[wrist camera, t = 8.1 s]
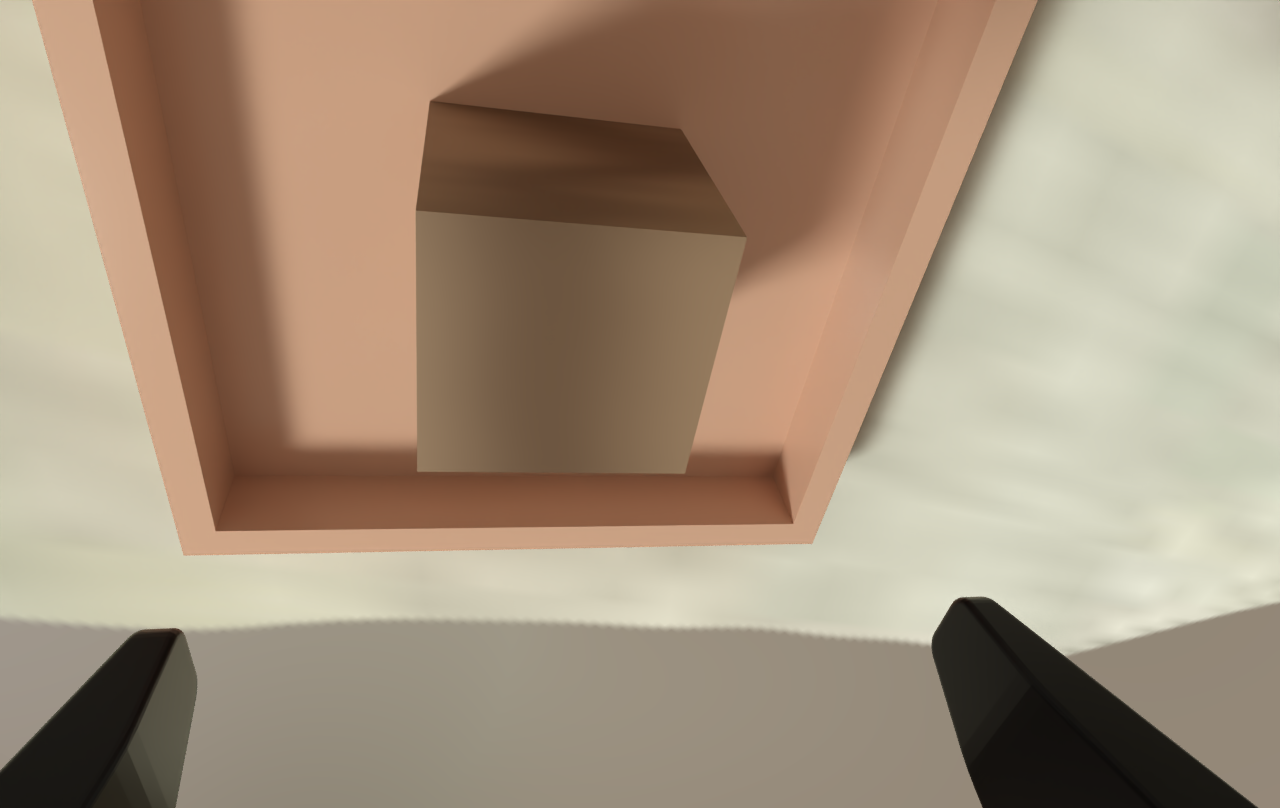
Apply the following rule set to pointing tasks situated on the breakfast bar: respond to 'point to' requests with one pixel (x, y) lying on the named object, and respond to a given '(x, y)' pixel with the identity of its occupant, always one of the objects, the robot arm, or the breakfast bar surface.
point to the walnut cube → (565, 293)
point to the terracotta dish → (386, 241)
